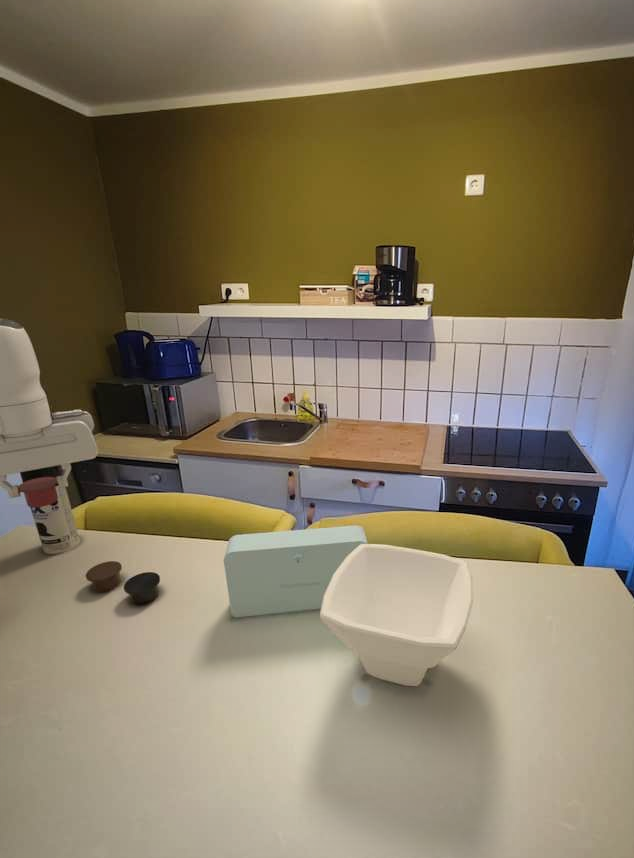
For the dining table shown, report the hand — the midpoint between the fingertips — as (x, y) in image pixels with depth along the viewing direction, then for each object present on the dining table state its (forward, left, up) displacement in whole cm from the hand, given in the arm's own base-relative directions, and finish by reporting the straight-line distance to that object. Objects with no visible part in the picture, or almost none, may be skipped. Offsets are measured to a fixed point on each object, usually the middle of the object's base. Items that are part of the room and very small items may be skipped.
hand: (39, 491), depth 77 cm
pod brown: (+6, -8, -19) cm, 21 cm away
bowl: (+38, -54, -19) cm, 69 cm away
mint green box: (+33, -34, -19) cm, 51 cm away
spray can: (0, +13, -19) cm, 23 cm away
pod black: (+11, -16, -19) cm, 27 cm away
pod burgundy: (0, 0, -2) cm, 2 cm away
